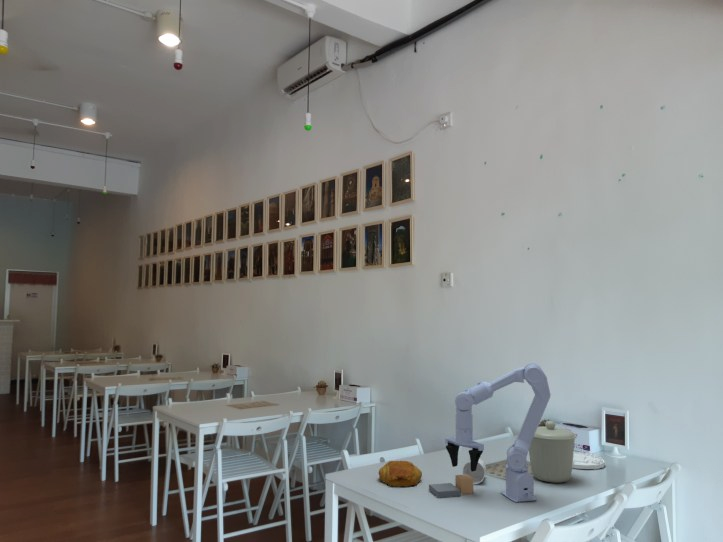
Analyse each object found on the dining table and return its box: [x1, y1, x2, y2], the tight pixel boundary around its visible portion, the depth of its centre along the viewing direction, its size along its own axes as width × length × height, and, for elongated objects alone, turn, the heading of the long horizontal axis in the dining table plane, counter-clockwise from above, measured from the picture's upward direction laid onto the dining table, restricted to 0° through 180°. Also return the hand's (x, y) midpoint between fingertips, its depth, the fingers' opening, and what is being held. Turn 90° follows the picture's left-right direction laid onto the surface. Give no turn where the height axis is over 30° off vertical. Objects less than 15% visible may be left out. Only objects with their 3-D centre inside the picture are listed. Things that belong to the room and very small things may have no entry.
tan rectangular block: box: [454, 474, 474, 495], centre depth 184 cm, size 4×4×5 cm
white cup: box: [462, 458, 487, 485], centre depth 198 cm, size 8×8×10 cm
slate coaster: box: [428, 482, 462, 499], centre depth 182 cm, size 8×8×2 cm
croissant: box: [378, 460, 423, 487], centre depth 195 cm, size 14×16×8 cm
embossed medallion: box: [572, 451, 606, 471], centre depth 222 cm, size 20×20×3 cm
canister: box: [528, 420, 577, 484], centre depth 201 cm, size 18×18×21 cm
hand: (464, 468), depth 185 cm, fingers open, 7 cm apart
